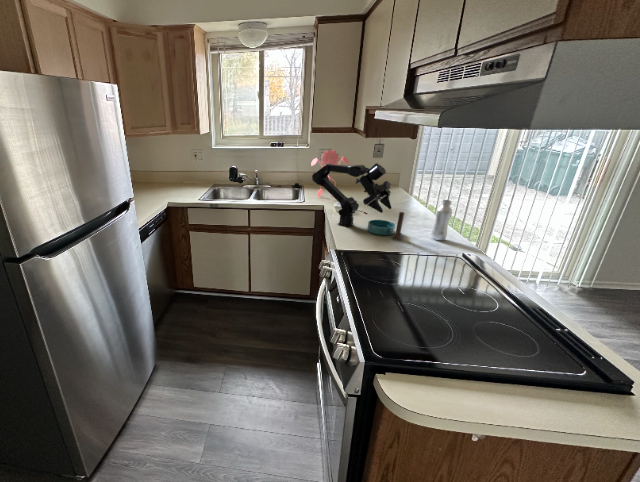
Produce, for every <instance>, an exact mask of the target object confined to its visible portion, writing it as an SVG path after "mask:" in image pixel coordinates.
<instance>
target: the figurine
mask: <svg viewBox="0 0 640 482" xmlns="http://www.w3.org/2000/svg"><path fill="white" fill-rule="evenodd" d="M320 159H321V161H319V159H318V157H315V158H314V159H312V161H311V163H310V164H311V165H310V166H311V167H314V166H315V165H316V164H317V162H318V164H319V165H320V167H321V168H323V167H324V166H325V165H326V164H335V165H341V162H343V163H344V165H345V164H346V166H350V163H349V162H350V161H349V159H348V158H347V157H346V156H343V155H342V157H341V159H340V157H339V153H337V151H336V149H333V150H330V149H328V150H327V151H326V150H324V151H323V155H322V156H321V157H320ZM338 161H339V162H338ZM322 164H324V165H322ZM328 178H329V181H330V180H331V181H334V184H336V180H334V179H333V178H332V177H331V176H330V175H328ZM323 193H324V190H323V189H322V188H320V189H318V191H317V193H316V196H317V198H320V197H321V196H322V195H323ZM331 197H332V198H334V197H333V196H332V195H331ZM322 201H325V199H324V200H323V199H322Z"/></svg>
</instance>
